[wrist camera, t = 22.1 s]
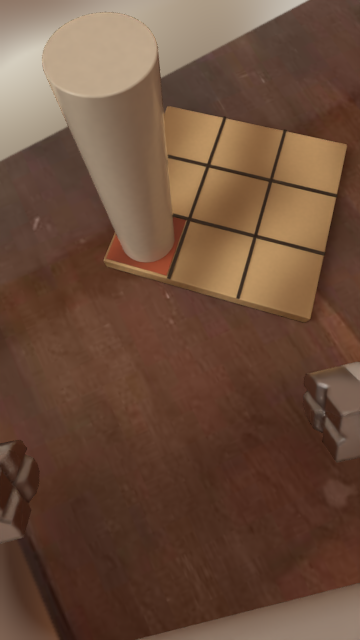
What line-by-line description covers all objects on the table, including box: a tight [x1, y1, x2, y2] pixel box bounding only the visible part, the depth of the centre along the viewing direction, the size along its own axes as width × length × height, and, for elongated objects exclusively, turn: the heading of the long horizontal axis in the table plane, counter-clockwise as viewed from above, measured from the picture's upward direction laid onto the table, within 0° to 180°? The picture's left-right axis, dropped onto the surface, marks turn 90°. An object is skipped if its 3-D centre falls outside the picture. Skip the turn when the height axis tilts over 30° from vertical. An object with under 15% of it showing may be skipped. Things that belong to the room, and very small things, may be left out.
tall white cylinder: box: [42, 12, 175, 263], centre depth 16 cm, size 4×4×12 cm
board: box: [104, 106, 347, 323], centre depth 23 cm, size 15×15×1 cm
